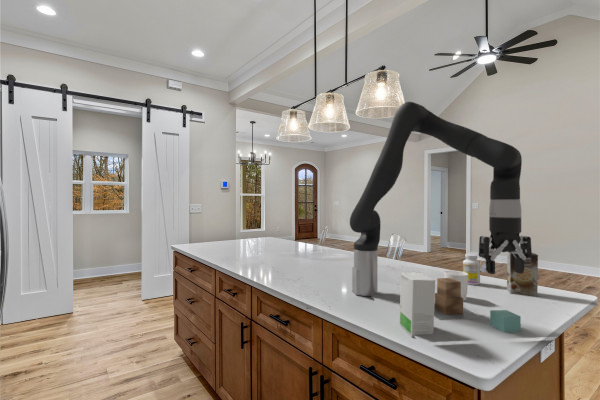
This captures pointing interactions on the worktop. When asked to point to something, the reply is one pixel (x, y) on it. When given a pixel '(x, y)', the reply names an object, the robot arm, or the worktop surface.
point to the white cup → (459, 277)
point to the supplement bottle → (472, 269)
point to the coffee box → (523, 276)
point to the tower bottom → (448, 305)
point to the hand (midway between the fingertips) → (505, 273)
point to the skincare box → (417, 303)
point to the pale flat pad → (456, 315)
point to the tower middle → (449, 288)
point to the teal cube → (505, 320)
